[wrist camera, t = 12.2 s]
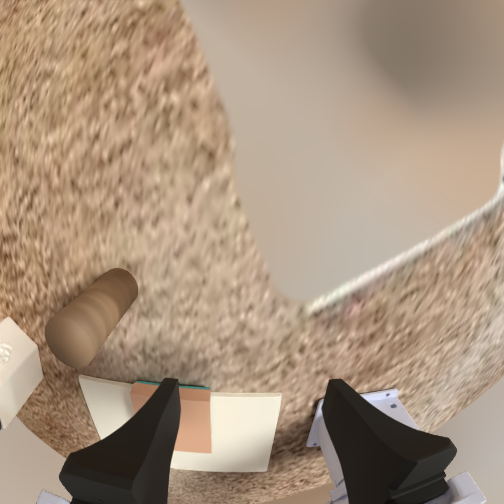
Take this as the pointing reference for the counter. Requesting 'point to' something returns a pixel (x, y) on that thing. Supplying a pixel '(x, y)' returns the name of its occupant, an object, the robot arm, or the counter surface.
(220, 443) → the board
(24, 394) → the jar
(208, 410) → the tile
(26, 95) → the counter surface
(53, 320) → the pestle
